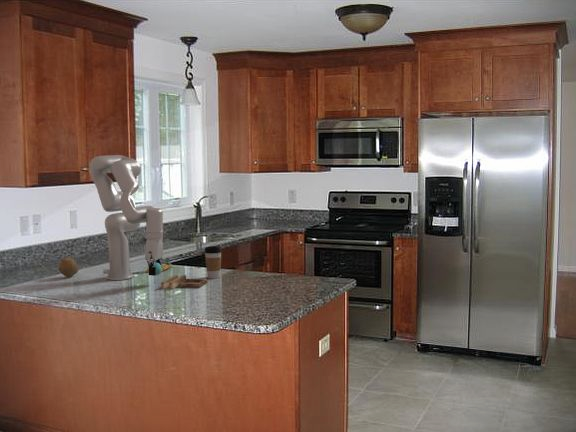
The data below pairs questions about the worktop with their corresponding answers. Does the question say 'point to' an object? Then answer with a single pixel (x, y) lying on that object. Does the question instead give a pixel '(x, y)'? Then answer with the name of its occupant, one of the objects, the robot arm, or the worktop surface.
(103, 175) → the robot arm
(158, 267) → the ball
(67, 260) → the natural sponge
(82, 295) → the worktop surface
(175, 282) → the rail
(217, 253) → the coffee cup
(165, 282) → the rail
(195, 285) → the tray
